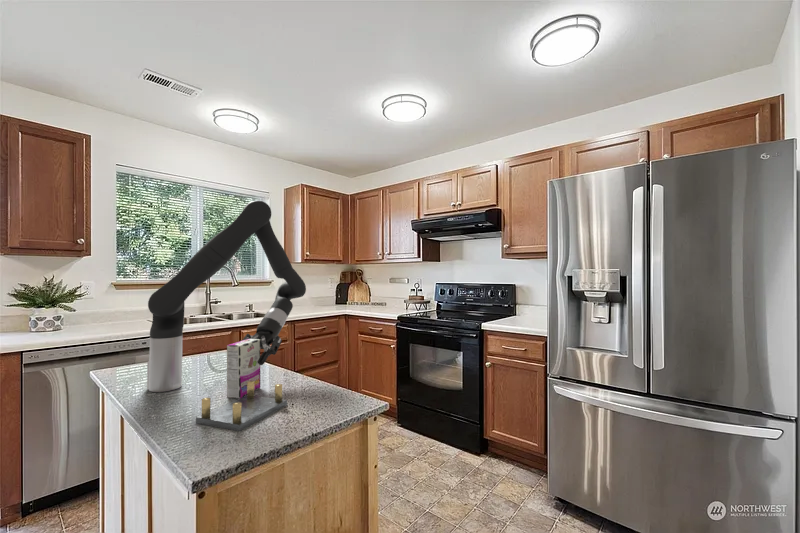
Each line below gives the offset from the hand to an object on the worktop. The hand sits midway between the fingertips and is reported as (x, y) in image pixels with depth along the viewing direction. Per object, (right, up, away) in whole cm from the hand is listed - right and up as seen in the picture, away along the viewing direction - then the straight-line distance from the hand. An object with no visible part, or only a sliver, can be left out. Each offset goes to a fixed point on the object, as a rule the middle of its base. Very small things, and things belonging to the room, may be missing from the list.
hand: (249, 362), depth 118 cm
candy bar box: (-1, -9, -2) cm, 10 cm away
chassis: (+7, -9, -20) cm, 23 cm away
